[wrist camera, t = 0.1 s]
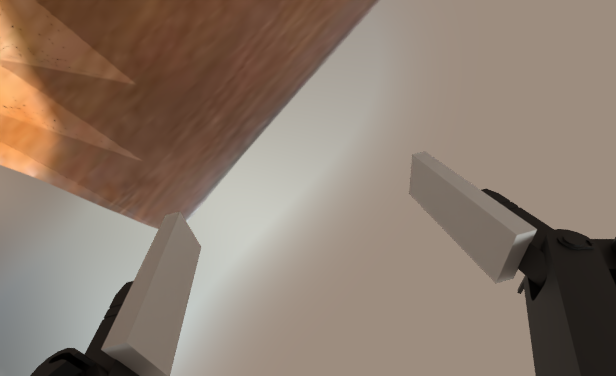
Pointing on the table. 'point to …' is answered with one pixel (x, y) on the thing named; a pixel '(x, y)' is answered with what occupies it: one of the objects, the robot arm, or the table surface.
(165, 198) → the table surface
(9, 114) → the table surface
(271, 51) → the table surface
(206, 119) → the table surface
